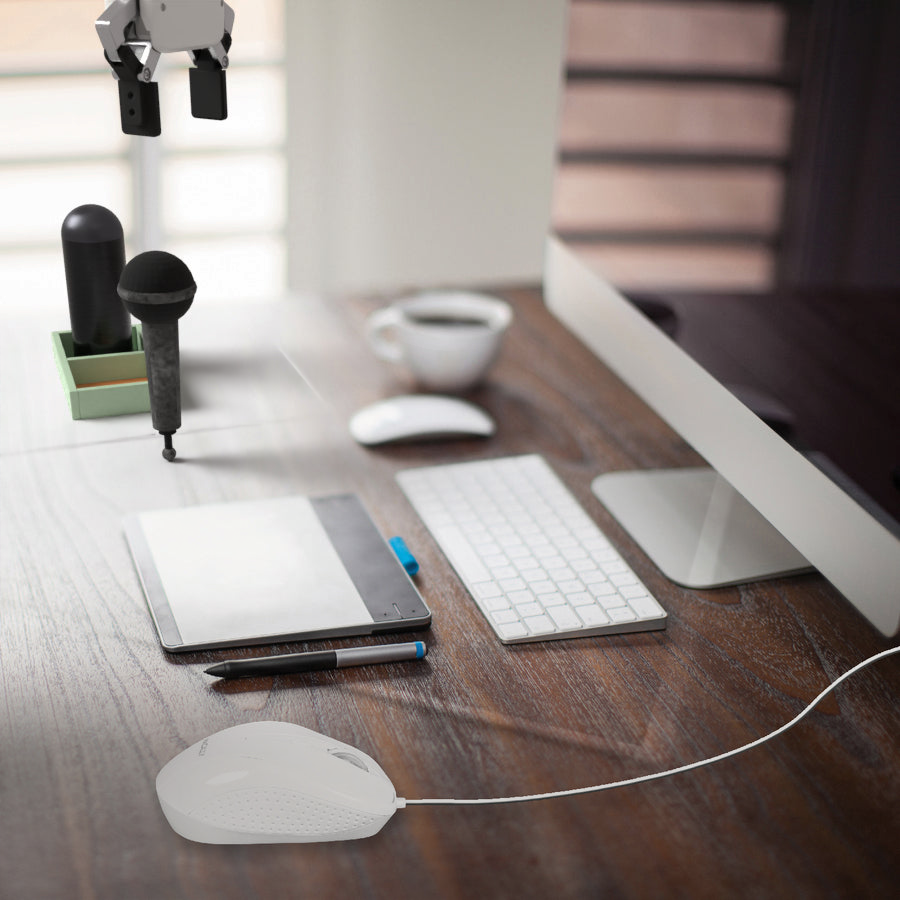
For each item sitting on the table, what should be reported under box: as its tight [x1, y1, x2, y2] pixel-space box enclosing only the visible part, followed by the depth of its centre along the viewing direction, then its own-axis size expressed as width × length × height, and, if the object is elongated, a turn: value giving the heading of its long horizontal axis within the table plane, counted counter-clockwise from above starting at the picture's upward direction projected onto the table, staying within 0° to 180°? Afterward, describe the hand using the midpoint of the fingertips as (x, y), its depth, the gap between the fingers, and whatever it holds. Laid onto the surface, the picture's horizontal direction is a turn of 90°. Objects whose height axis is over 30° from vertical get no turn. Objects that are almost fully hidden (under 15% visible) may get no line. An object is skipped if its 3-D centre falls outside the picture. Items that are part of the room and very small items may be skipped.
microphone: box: [117, 250, 198, 461], centre depth 103 cm, size 7×7×20 cm
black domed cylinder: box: [60, 203, 134, 357], centre depth 124 cm, size 6×6×18 cm
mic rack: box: [50, 323, 151, 421], centre depth 123 cm, size 10×19×4 cm, turn 23°
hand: (177, 126), depth 91 cm, fingers open, 9 cm apart
